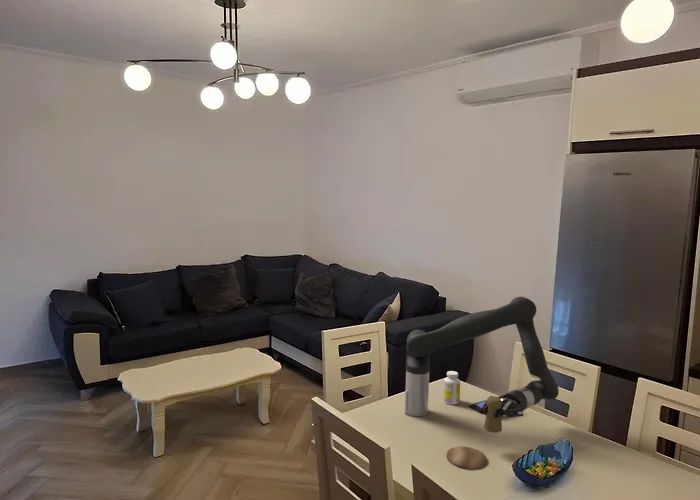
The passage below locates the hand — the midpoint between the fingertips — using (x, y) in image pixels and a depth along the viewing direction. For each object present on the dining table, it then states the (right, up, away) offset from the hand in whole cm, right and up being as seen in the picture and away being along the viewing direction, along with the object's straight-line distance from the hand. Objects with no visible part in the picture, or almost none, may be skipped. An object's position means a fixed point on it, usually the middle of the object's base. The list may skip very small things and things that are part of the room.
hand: (489, 412), depth 167 cm
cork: (+2, -7, +3) cm, 7 cm away
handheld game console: (+10, -11, +37) cm, 40 cm away
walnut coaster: (-8, -15, -2) cm, 17 cm away
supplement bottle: (-4, -10, +43) cm, 44 cm away
